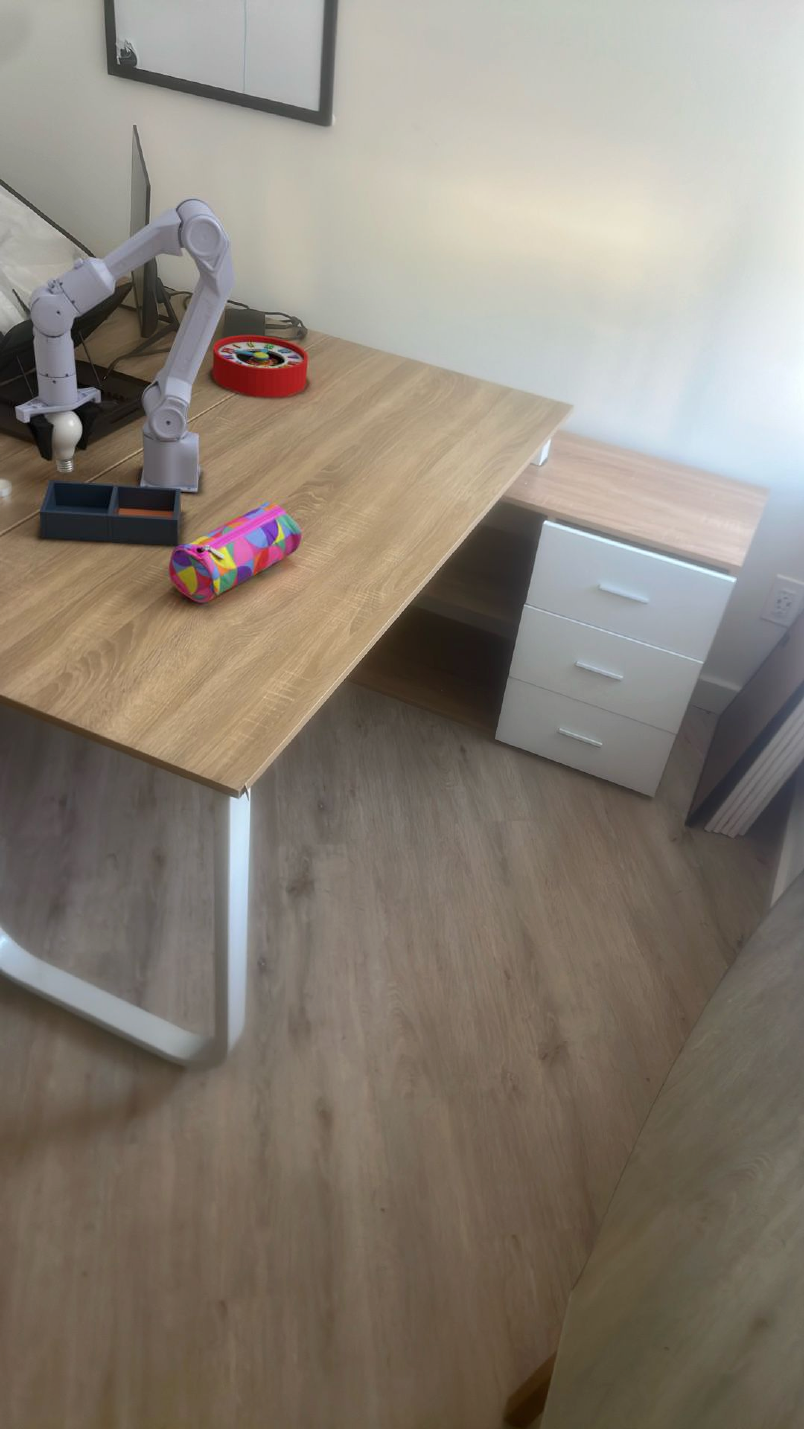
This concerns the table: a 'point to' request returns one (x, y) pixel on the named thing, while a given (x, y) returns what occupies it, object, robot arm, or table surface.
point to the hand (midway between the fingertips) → (64, 453)
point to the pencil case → (233, 552)
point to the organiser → (111, 513)
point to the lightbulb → (65, 438)
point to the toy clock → (259, 366)
